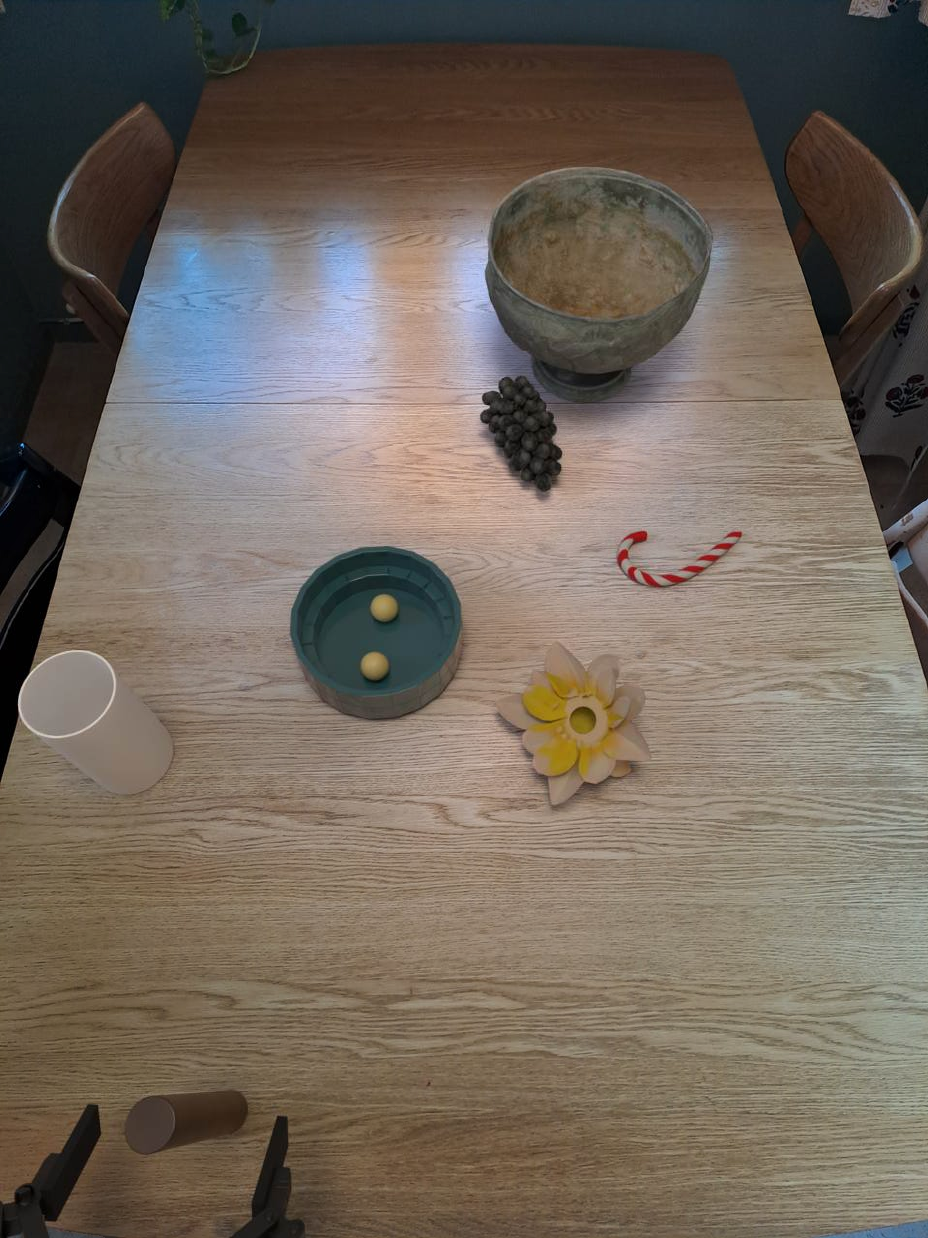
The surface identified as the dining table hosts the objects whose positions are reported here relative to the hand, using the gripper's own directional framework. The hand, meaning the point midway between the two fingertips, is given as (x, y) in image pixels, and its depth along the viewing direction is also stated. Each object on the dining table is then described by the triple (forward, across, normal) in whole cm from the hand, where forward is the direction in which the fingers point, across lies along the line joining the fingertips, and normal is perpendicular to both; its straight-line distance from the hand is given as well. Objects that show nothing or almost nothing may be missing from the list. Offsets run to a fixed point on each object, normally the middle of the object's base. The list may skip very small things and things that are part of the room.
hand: (188, 1124), depth 60 cm
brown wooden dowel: (+8, 0, -8) cm, 12 cm away
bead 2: (+36, +8, +22) cm, 43 cm away
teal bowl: (+40, +8, +23) cm, 47 cm away
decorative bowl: (+70, +30, +54) cm, 93 cm away
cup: (+30, -16, +14) cm, 36 cm away
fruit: (+59, +23, +42) cm, 76 cm away
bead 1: (+40, +9, +27) cm, 50 cm away
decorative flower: (+34, +28, +17) cm, 47 cm away
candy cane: (+50, +42, +33) cm, 73 cm away
